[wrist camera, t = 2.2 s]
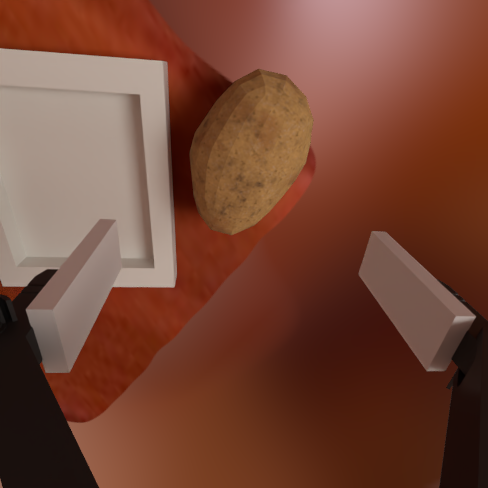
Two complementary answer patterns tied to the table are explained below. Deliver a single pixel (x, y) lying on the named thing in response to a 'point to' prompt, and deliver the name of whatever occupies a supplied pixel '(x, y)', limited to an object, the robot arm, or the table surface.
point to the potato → (249, 150)
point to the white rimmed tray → (85, 163)
